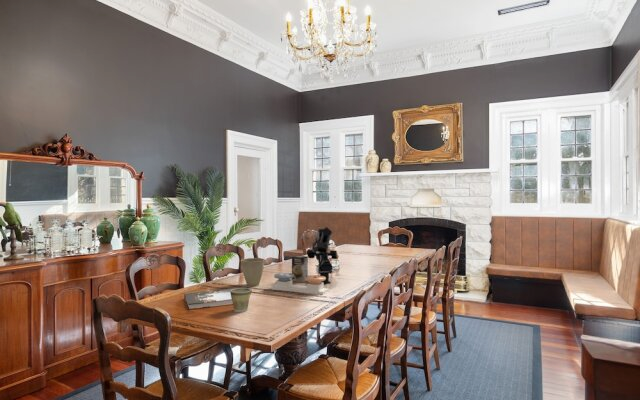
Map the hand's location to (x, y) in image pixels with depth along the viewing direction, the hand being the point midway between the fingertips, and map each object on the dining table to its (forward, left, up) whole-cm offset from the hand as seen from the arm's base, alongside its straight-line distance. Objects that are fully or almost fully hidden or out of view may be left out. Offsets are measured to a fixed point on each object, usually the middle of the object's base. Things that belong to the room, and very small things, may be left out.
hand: (319, 265), depth 248 cm
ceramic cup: (+34, -49, -14) cm, 61 cm away
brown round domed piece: (+9, -5, -11) cm, 15 cm away
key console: (+2, -13, -14) cm, 19 cm away
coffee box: (-23, -7, -14) cm, 28 cm away
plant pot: (-20, -38, -14) cm, 45 cm away
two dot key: (-4, -21, -11) cm, 24 cm away
